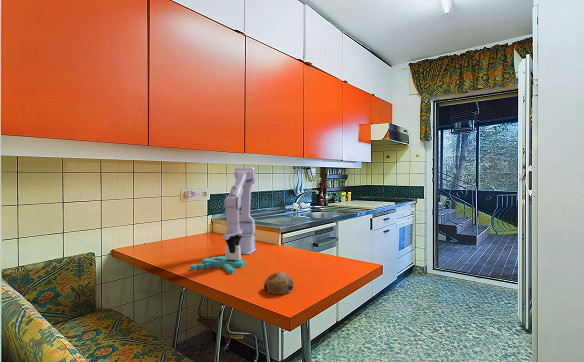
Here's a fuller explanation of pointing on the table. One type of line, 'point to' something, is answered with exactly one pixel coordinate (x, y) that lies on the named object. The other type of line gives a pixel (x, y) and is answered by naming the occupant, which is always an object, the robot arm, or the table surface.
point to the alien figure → (220, 264)
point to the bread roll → (278, 283)
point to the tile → (233, 255)
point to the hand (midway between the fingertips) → (233, 252)
